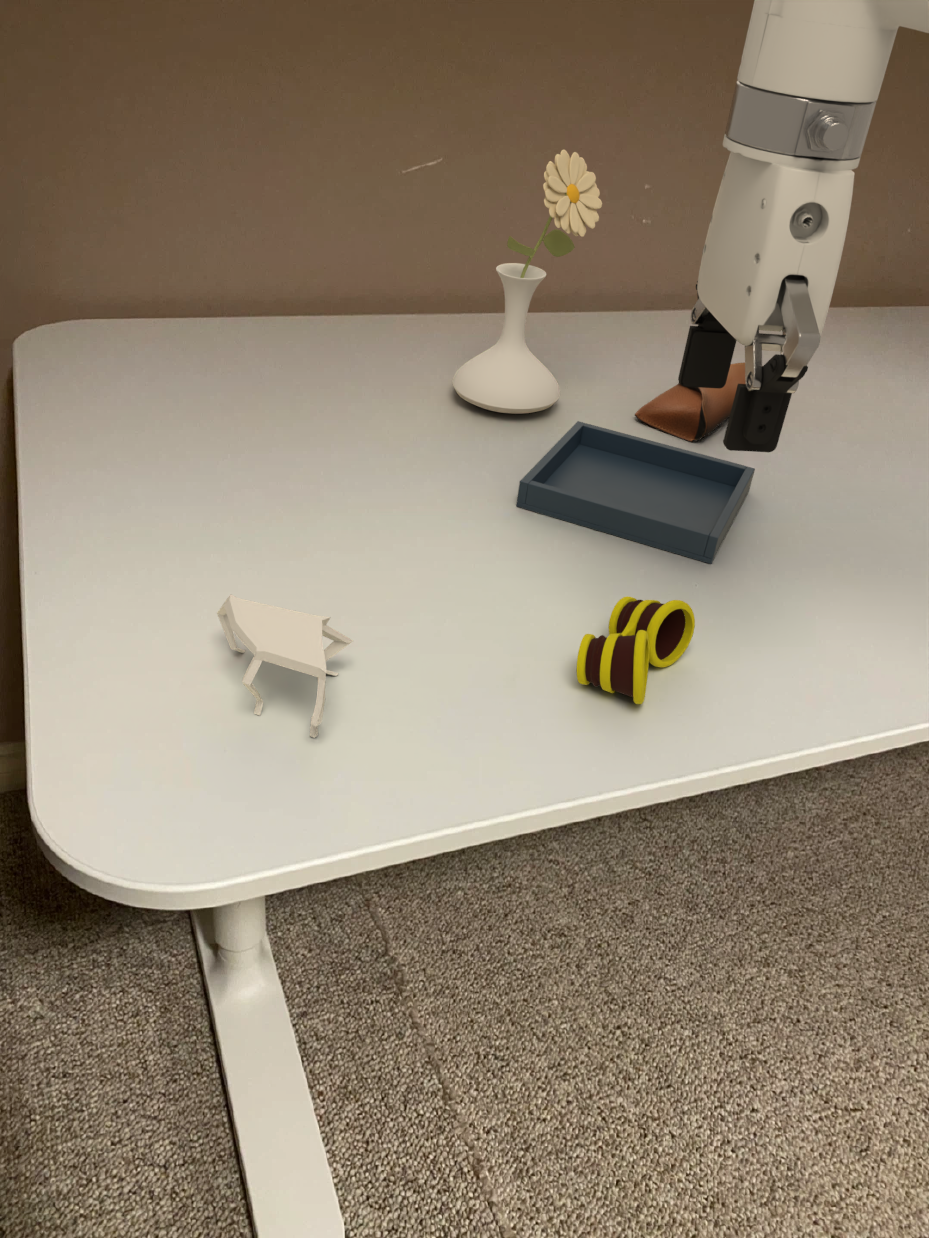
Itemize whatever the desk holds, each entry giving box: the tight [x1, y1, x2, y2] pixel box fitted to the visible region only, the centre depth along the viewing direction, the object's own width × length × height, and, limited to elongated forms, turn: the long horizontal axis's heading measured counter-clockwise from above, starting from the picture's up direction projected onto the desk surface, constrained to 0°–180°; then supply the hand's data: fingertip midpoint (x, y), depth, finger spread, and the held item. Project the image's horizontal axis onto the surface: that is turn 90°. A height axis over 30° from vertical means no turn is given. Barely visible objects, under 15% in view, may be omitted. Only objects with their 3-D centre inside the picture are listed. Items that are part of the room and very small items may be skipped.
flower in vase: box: [451, 149, 603, 415], centre depth 108 cm, size 13×11×25 cm
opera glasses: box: [576, 595, 696, 705], centre depth 75 cm, size 10×5×5 cm, turn 148°
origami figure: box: [216, 593, 354, 739], centre depth 70 cm, size 12×8×5 cm
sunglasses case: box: [634, 361, 764, 443], centre depth 117 cm, size 18×7×7 cm
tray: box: [515, 420, 756, 565], centre depth 98 cm, size 18×16×2 cm
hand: (723, 415), depth 69 cm, fingers open, 9 cm apart
